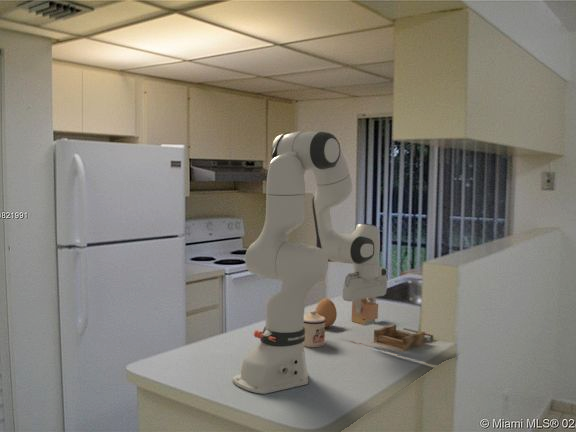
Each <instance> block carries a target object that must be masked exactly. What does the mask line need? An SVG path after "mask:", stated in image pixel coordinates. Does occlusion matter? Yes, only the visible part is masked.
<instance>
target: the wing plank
mask: <svg viewBox="0 0 576 432" xmlns="http://www.w3.org/2000/svg"><path fill="white" fill-rule="evenodd" d="M399 330H400V331H404V332H408V333H411V334H416V332H412V331H408V330H404V329H403V328H401V329H399ZM425 337H427V342H428V341H431V336H428V335H425ZM431 342H432V341H431ZM428 343H429V342H428Z"/></svg>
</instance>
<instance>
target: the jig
mask: <svg viewBox="0 0 576 432" xmlns="http://www.w3.org/2000/svg"><path fill="white" fill-rule="evenodd" d="M402 329H404V330H408V331H412V332H416V334H411V333H408V332H404V331H400V330H401V329H397V325H396V324H393V323H392V324H390V325H386V326H384V327H380V328H377V329H374V331H373V341H372V343H373V344H378V345H380V346H384V347H387V348H390V349H394V350H398V351H400V352H401V351H402V352H405V351H408V350H411V349H413V348H417V347H419V346H422V345H424V344H427V343H431V342H433V341H436V339H435V338H434V334H430V333H426V332H425V331H418V330H413V329H410V328H406V327H404V328H402ZM425 335H428V336H431V341H428V342H427V337H425Z"/></svg>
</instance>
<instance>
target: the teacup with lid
mask: <svg viewBox="0 0 576 432" xmlns="http://www.w3.org/2000/svg"><path fill="white" fill-rule="evenodd" d="M325 321H326V320H325V318H324V317H323V316H320V315H319V314H316V310H310V311H309V313H306V314H304V325H303V327H304V328H305V340H304V342H303V343H304V347H306V348H320V347H323V346H324V345H325V343H326V342H325V338H326V336H325V335H326V334H325V333H326V328H325Z"/></svg>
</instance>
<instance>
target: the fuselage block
mask: <svg viewBox="0 0 576 432" xmlns="http://www.w3.org/2000/svg"><path fill="white" fill-rule="evenodd" d="M360 304H361V307H363V312H360V313H358V312H356V306H355V304H354V301H352V303H351V317H352V316H355V317H359V318H363V319H368V320H373V319H375V320H377V319H378V317H379V303H377V302H376V303H372V302H367V299H362V300H361V303H360Z"/></svg>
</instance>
